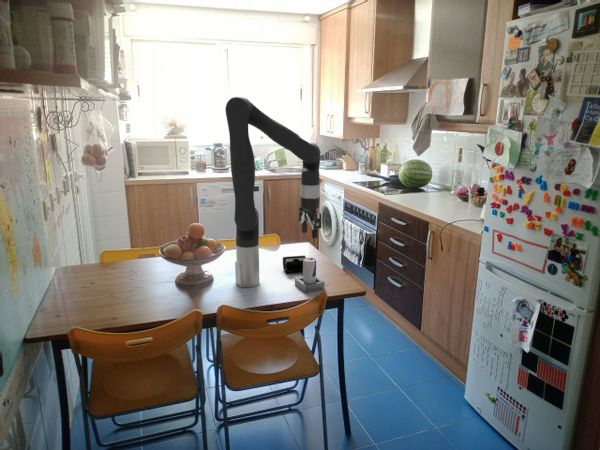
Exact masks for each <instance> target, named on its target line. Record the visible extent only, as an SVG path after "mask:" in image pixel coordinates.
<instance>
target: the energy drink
mask: <svg viewBox="0 0 600 450" xmlns="http://www.w3.org/2000/svg"><path fill="white" fill-rule="evenodd" d="M302 277H303V282H304V283H305V284H311V283H316V277H317V260H316V258H314V257H306V258H305V259H304V260H303V273H302Z"/></svg>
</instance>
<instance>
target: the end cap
mask: <svg viewBox="0 0 600 450" xmlns="http://www.w3.org/2000/svg"><path fill="white" fill-rule="evenodd" d="M305 258H307V257H306V255H292V256H291V255H290V256H283V257H282V268H283V271H284V273H285V274H286V275H296V274H297V275H298V274H303V260H304V259H305Z"/></svg>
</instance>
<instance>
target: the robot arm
mask: <svg viewBox="0 0 600 450" xmlns="http://www.w3.org/2000/svg"><path fill="white" fill-rule="evenodd" d="M225 117H226V122H227V127H228V133H229V134H228V135H229V155H230V170H231V171H230V172H231V181H232V186H233V192H234V224H235V227H236V230H235V231H236V232H235V234H236V235H235V249H236V250H235V251H236V252H235V254H236V255H235V256H236V261H235V262H234V269H235V271H234V272H235V274H234V275H235V283H236V285H238V286H239V288H254V287H256V286H259V284H260V278H261V277H260V246H259V245H260V219H259V218H260V216H259V211H258V210H257V208H256V207H255V206H256V205H255V204H256V203H255V196H254V195H255V193H254V192H255V182H256V166H255V165H256V161H255V155H254V150H253V147H252V144H251V143H252V142H251V140H250V135H249V134H250V133H249V125H250V126H252V127H253V128H254V127H255V128H256V129H257V130H259V131H260V132H261V133H263V134H264V135H266V137H268V138H269V139H270V140H272V141H273V142H274V143H276V144H278V145H279V146H281V147H282V148H283V149H285V150H287V151H289V152H291V153H292V154H293V155H294V156H296V157H297V158H298V159H300V160H301V161H302V171H301V176H300V178H301V181H300V182H301V183H300V194H299V195H300V201H299V202H300V203H299V204H300V207H299V208H298V221H299V222H300V224H301V233H303V234H306V233H307V232H308V223H309V225H310V226H311V228H312V229H311V239H318V235H319V234H318V233H319V232H318V231H319V230H320V229H322V213H319V212H318V210H317V209H319V208H320V200H321V194H320V193H321V192H320V191H321V189H320V165H321V164H320V163H321V149H320V146H318V145H317V144H315V143H314V142H313V143H312V142H311V143H310V142H308V141H306V140H305V139H303V138H302V137H301V136H300V135H299V134H298V133H296V132H295V131H293V130H291V129H290V128H289V127H286V126H285V125H283V124H281V123H280V122H278V121H276V120H275V119H273V118H272V117H270V116H269V115H267V114H265V113H264V112H263V111H261V110H260V109H259V108H258V107H257V106H256V105H255V104H254V103H253V102H251V100H249V99H248V98H246V97H244V96H233V97H231V98H230V99H229V100H228V101H227V102H226V105H225Z"/></svg>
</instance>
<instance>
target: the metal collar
mask: <svg viewBox="0 0 600 450" xmlns="http://www.w3.org/2000/svg"><path fill="white" fill-rule="evenodd" d="M325 284H326V282H325V281H324V280H322V279H321V278H319V277H318V276H316V283H311V284H305V283H304V282H303V276H300V277H296V278H294V286H295V287H297V289H299V290H301V291H302V292H303V293H304V294H308V293H312V292H316V291H321V290H325Z"/></svg>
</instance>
